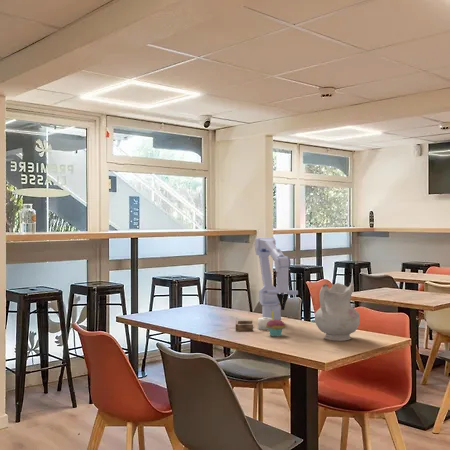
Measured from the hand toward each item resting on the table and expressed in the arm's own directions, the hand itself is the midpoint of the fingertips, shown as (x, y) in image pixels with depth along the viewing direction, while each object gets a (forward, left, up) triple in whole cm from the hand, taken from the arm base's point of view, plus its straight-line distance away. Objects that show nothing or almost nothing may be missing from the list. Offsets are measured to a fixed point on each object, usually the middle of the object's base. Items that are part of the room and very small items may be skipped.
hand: (282, 309), depth 272 cm
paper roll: (+9, 0, -9) cm, 13 cm away
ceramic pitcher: (-21, +24, -9) cm, 34 cm away
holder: (+19, 0, -9) cm, 21 cm away
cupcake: (+5, +16, -9) cm, 19 cm away
